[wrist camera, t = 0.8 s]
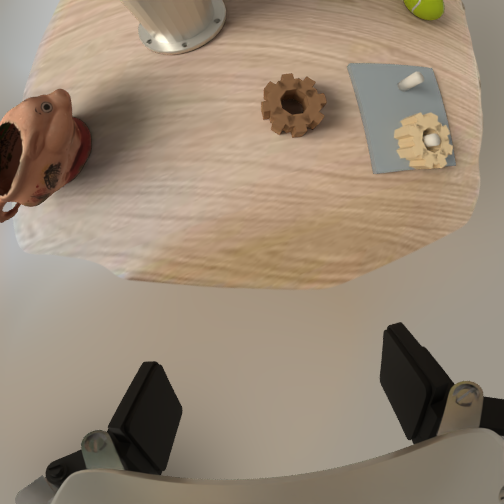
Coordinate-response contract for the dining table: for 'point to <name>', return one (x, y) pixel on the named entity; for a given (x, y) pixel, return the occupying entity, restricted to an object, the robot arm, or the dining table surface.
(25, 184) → the decorative planter
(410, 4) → the tennis ball
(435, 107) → the gear board
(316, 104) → the walnut gear
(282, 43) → the dining table surface
